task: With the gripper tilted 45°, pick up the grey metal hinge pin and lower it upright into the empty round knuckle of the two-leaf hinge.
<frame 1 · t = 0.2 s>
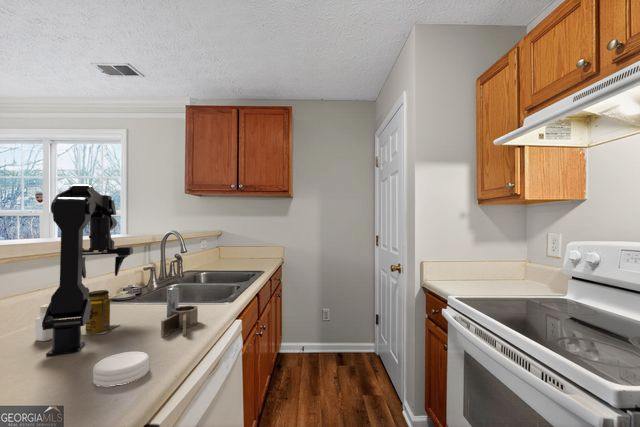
hand: (100, 276, 106), 14 cm above the worktop, tool pointing down, fingers open, 9 cm apart
pepper shaker: (46, 339, 88), on the worktop
condiment: (100, 330, 95), on the worktop
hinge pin: (172, 317, 108), on the worktop
hinge: (184, 324, 100), on the worktop
coaster: (122, 377, 66), on the worktop
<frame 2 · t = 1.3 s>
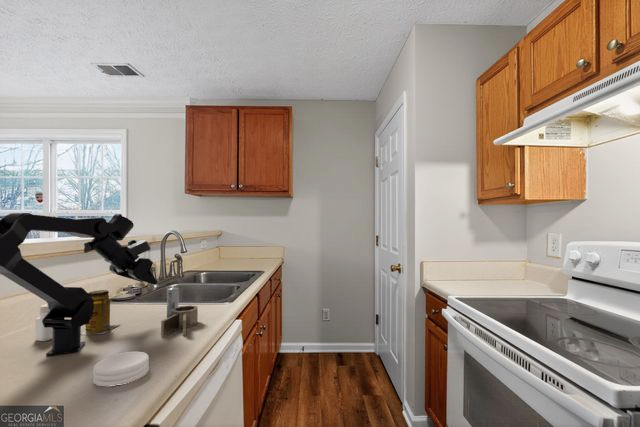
hand: (149, 282, 102), 13 cm above the worktop, tool tilted 45°, fingers open, 9 cm apart
nothing on the worktop moved.
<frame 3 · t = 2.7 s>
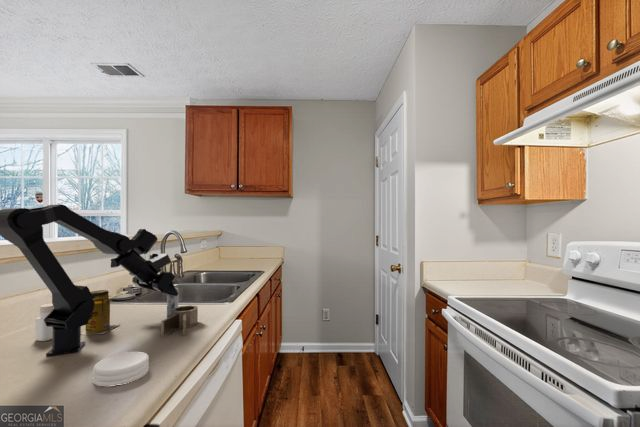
hand: (170, 293, 107), 8 cm above the worktop, tool tilted 45°, fingers open, 9 cm apart
nothing on the worktop moved.
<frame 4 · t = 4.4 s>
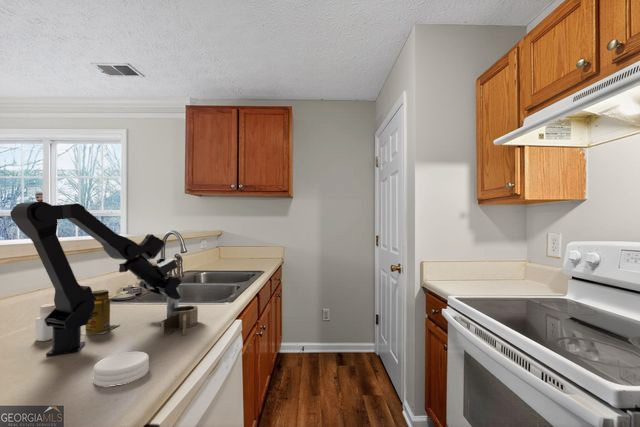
hand: (176, 297, 109), 7 cm above the worktop, tool tilted 45°, fingers closed on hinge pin, 4 cm apart
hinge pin: (172, 317, 108), on the worktop, touching gripper
everything else where it was.
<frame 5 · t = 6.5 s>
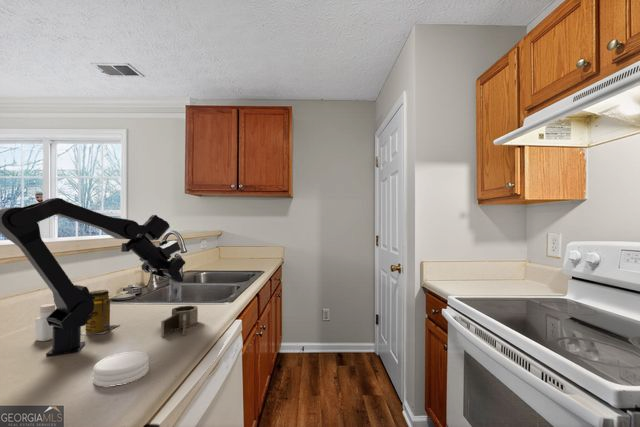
hand: (179, 280, 107), 13 cm above the worktop, tool tilted 45°, fingers closed on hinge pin, 4 cm apart
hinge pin: (175, 300, 106), point 6 cm above the worktop, touching gripper
everything else where it was.
when the fingers open (8 cm above the worktop, at t = 8.6 s): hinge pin drops 1 cm, resting in hinge.
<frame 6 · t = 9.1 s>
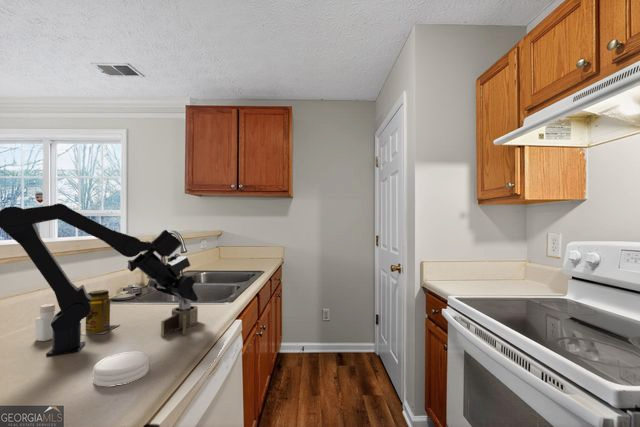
hand: (189, 298, 101), 8 cm above the worktop, tool tilted 45°, fingers open, 9 cm apart
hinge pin: (184, 324, 100), resting in hinge
everything else where it was.
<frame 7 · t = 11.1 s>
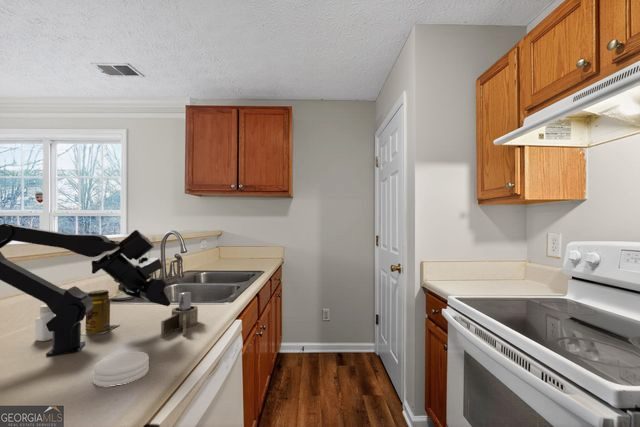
hand: (161, 302, 94), 8 cm above the worktop, tool tilted 45°, fingers open, 9 cm apart
nothing on the worktop moved.
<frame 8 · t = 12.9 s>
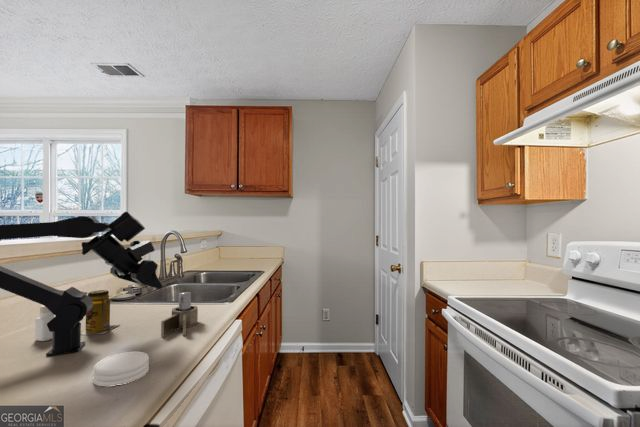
hand: (153, 286, 94), 14 cm above the worktop, tool tilted 45°, fingers open, 9 cm apart
nothing on the worktop moved.
at the end: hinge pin 0.0 cm off-centre on the hinge, point 0.0 cm above the hinge's base; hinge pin tilted 0°; the gripper is holding nothing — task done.
